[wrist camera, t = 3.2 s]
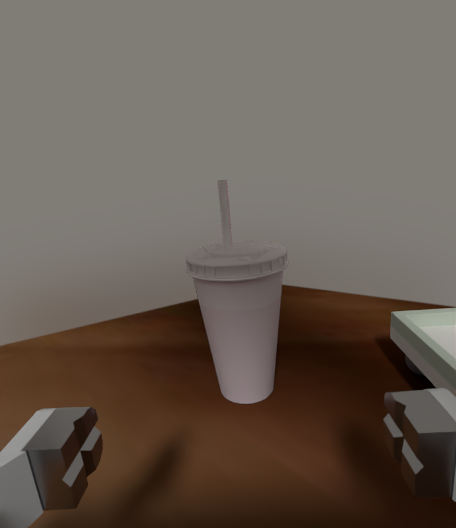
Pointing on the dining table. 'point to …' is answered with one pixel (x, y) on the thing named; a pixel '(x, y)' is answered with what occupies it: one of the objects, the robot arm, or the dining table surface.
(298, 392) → the dining table surface
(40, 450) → the robot arm
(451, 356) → the caster cart
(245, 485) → the dining table surface
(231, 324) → the smoothie
